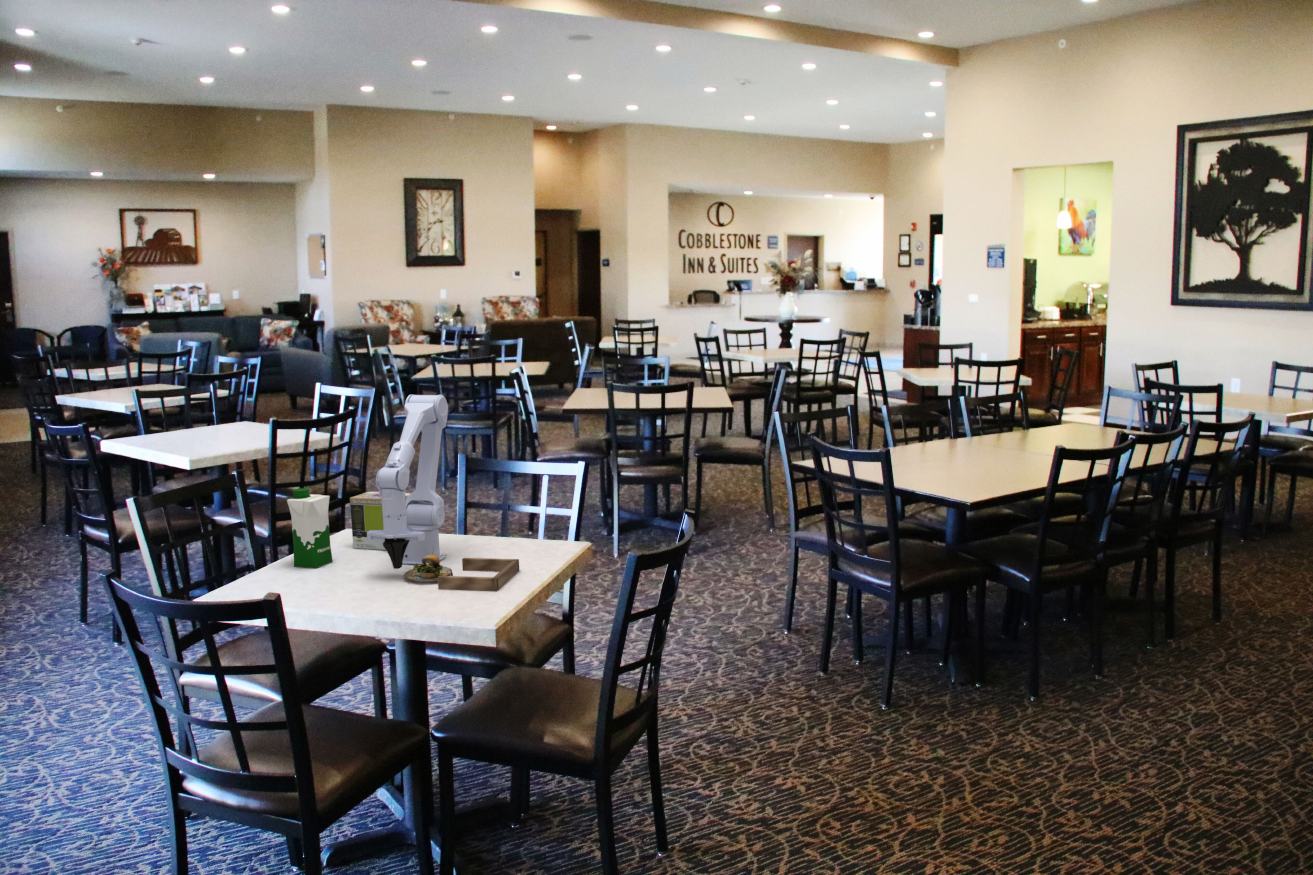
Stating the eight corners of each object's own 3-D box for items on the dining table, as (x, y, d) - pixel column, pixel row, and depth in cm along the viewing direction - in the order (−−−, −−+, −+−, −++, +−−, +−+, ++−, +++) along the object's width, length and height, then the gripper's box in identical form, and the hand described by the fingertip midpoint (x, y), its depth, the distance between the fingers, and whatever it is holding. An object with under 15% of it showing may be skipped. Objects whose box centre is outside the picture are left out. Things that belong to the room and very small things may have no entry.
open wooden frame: (438, 589, 248) (437, 576, 248) (464, 568, 265) (463, 557, 265) (497, 591, 246) (496, 578, 245) (519, 570, 263) (518, 559, 262)
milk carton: (309, 558, 279) (304, 485, 275) (338, 560, 276) (333, 487, 273) (288, 567, 270) (282, 492, 267) (317, 569, 267) (312, 494, 264)
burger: (395, 580, 257) (393, 551, 256) (434, 569, 266) (432, 541, 265) (423, 589, 250) (422, 559, 248) (462, 578, 258) (461, 549, 257)
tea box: (418, 543, 293) (415, 492, 290) (398, 552, 283) (395, 499, 281) (372, 540, 298) (369, 489, 295) (351, 548, 288) (348, 496, 286)
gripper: (360, 517, 254) (363, 571, 256) (415, 518, 252) (418, 572, 254) (372, 511, 261) (376, 563, 263) (426, 512, 258) (429, 565, 261)
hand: (397, 567), depth 259 cm, fingers closed
